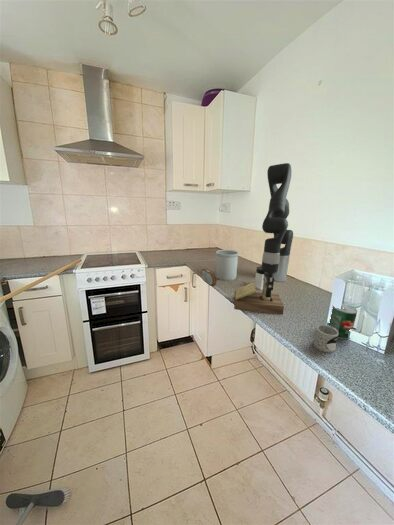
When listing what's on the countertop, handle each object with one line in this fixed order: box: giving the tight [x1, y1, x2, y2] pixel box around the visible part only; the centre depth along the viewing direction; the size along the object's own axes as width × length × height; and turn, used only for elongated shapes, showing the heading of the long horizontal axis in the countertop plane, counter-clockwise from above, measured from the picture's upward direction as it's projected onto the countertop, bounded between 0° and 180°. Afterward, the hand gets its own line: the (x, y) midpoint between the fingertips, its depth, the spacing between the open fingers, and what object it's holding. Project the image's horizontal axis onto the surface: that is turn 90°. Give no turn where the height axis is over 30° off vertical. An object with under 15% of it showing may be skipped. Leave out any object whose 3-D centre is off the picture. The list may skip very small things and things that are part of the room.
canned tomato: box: [328, 305, 358, 340], centre depth 84 cm, size 8×8×11 cm
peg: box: [261, 282, 271, 301], centre depth 105 cm, size 4×4×12 cm
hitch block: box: [233, 289, 285, 315], centre depth 107 cm, size 14×22×4 cm, turn 80°
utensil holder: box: [215, 249, 240, 282], centre depth 144 cm, size 15×15×18 cm
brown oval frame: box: [201, 268, 218, 287], centre depth 133 cm, size 15×3×8 cm, turn 26°
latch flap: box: [235, 281, 257, 300], centre depth 106 cm, size 11×10×1 cm
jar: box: [254, 265, 264, 291], centre depth 129 cm, size 9×8×12 cm
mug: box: [313, 324, 339, 354], centre depth 77 cm, size 10×7×7 cm, turn 124°
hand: (266, 293), depth 105 cm, fingers open, 8 cm apart
